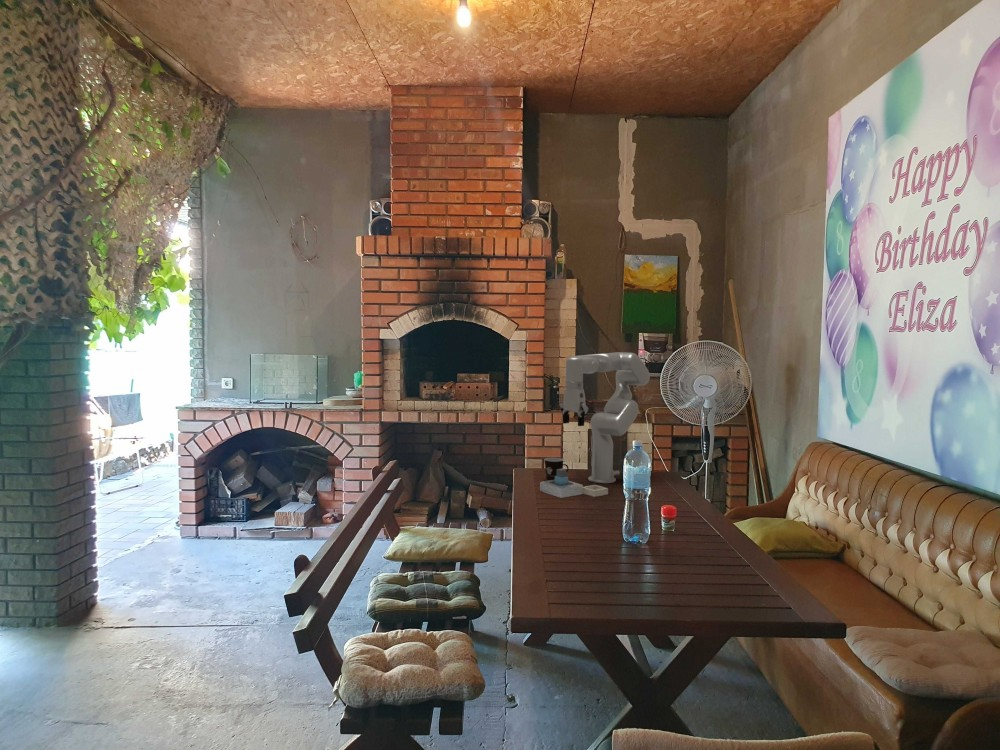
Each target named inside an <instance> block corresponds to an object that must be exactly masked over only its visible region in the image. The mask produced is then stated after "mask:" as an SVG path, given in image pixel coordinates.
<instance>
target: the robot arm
mask: <svg viewBox="0 0 1000 750" xmlns="http://www.w3.org/2000/svg"><path fill="white" fill-rule="evenodd" d="M615 371H616V372H615ZM607 372H615V391H614V393H613V394H612V395H611V397H610V398H609V400H607V402H606V404H605V406H604V407H603V412H597V413H594V414H593V415H592V417H591V418H590V429H591V435H592V437H591V438H592V443H591V444H592V445H591V446H592V449H591V450H592V451H591V453H592V454H591V455H592V457H591V475H590V476H588V478H587V479H588V481H589V482H591V483H597V484H612V483H615V482H616V481H617V479H616V477H615V476H618V475H620V474H621V473H620V471H619V470H613V467H614V461H613V460H614V458H613V457H614V442H613V438H612V436H618V437H619V436H623V435H625V434H626V433H627V431H628V430H629V429H630V427H631V426H632V424H633V423H634V421H635V420H636V419H637V416H638V414H639V404H638V403H637V402H636V401H635V400H634V399H633V394H632V391H631V388H630V386H641V387H643V386H645V385H647V384H648V383H649V382H650V379H651V376H650V375H651V374H650V371H649V369H648V368H647V366H646V365H645V364H644V361H642V359H641V357H640V356H639V355H637V354H636V353H634V352H626V351H625V352H622V351H621V352H620V351H615V352H609V353H608V352H607V353H594V354H584V355H583V354H581V355H574V356H570V357H567V358H566V361H565V388H564V393H563V401H562V402H561V403H560V404H559V406H560V411H561V414H562V424H570V413H571V412H573V413H577V415H578V417H577V427H585V417H586V416H587V414H588V412H589V407H588V406H587V405H586V394H585V389H584V374H587V375H591V374H594V373H607Z"/></svg>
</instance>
